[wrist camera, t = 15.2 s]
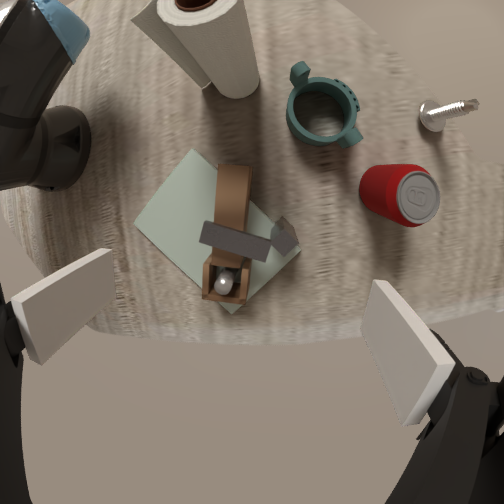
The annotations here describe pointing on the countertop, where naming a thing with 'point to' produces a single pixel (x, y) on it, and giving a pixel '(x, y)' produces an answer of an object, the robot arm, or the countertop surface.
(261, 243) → the keeper
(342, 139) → the teal hollow cylinder
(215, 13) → the paper towel roll
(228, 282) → the cylinder
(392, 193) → the beverage can
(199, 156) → the base board
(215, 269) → the link
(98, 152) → the countertop surface
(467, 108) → the screw
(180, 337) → the countertop surface
